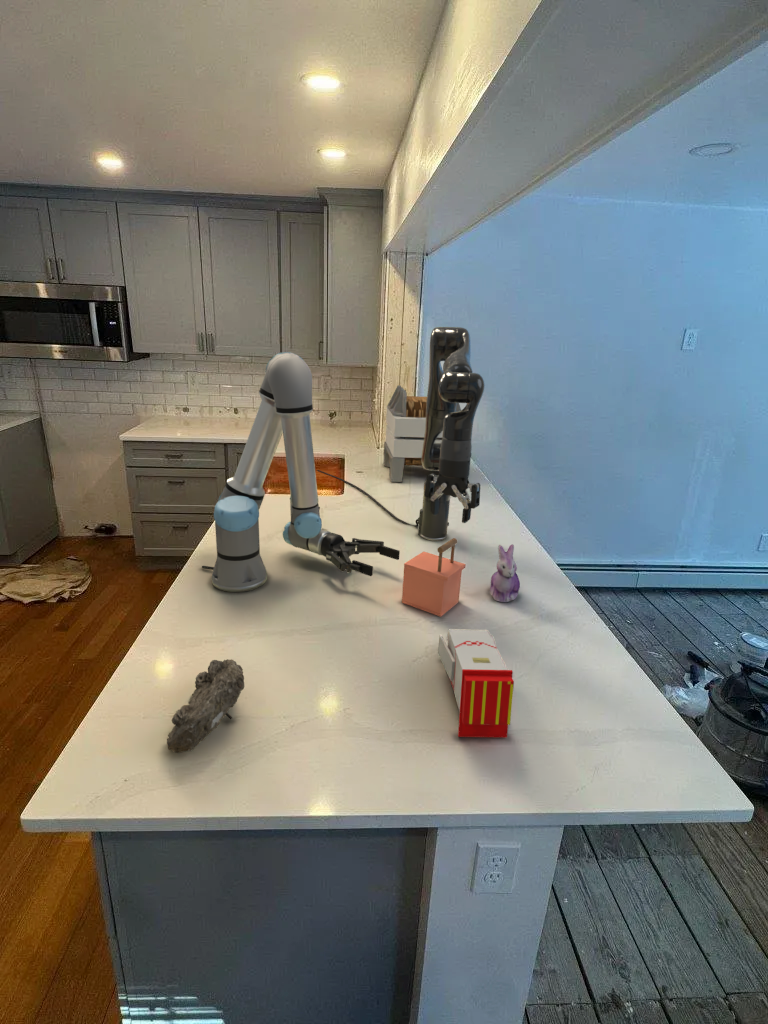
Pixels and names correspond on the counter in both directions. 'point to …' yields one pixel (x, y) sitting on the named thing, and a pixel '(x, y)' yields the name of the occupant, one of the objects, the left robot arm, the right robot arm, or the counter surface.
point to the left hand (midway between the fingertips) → (385, 563)
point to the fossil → (206, 705)
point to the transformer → (405, 432)
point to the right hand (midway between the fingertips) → (449, 518)
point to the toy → (478, 682)
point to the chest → (430, 591)
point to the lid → (437, 563)
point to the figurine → (505, 577)
